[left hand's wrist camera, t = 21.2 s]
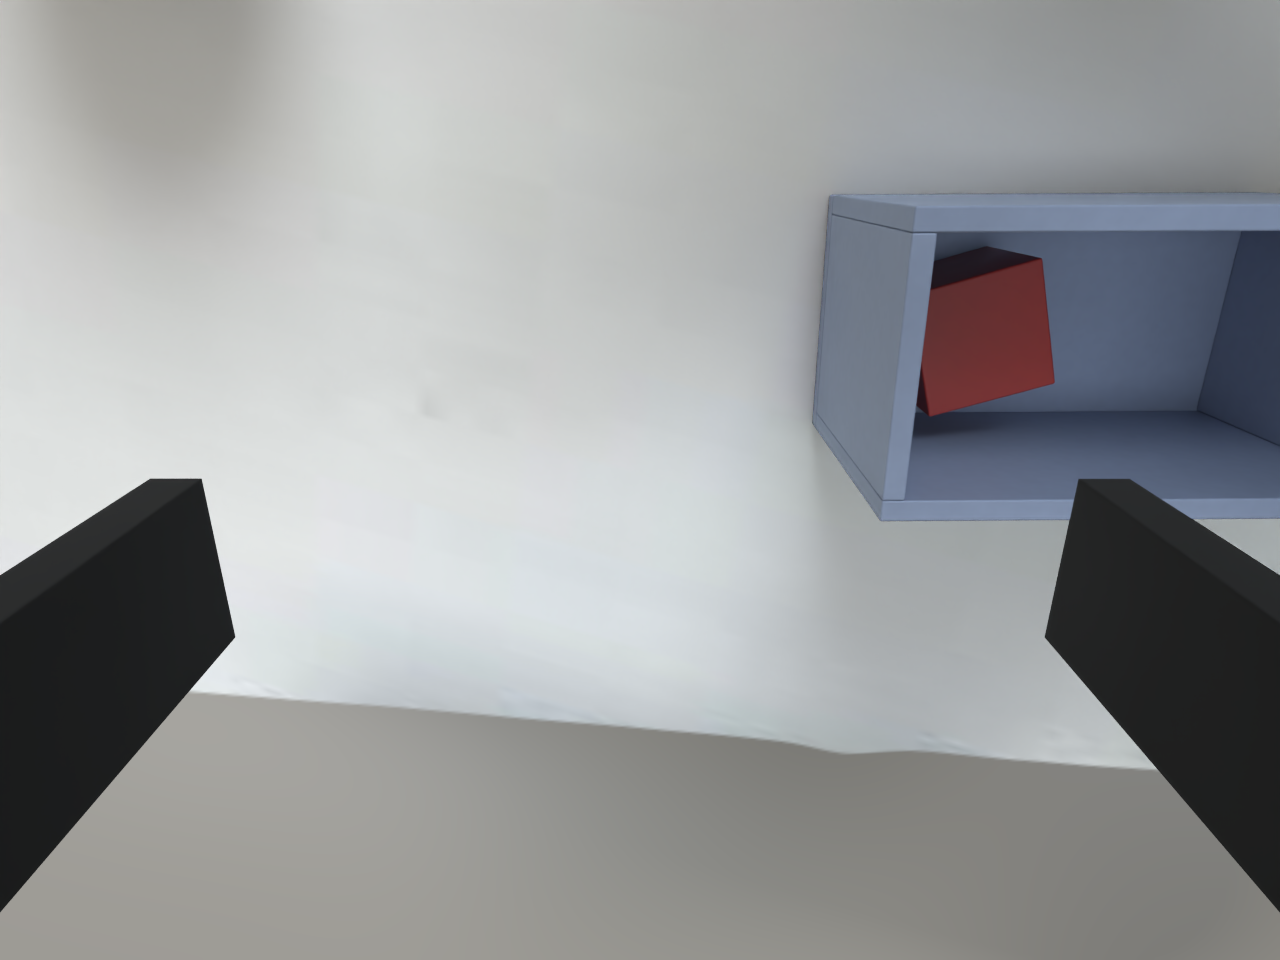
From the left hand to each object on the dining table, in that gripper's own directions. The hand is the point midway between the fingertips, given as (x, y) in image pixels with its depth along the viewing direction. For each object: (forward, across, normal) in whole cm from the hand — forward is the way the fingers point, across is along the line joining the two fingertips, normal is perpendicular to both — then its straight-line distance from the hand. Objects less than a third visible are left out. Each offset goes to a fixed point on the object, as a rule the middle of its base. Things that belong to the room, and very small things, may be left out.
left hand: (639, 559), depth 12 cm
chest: (+24, +16, 0) cm, 29 cm away
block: (+23, +12, 0) cm, 26 cm away
